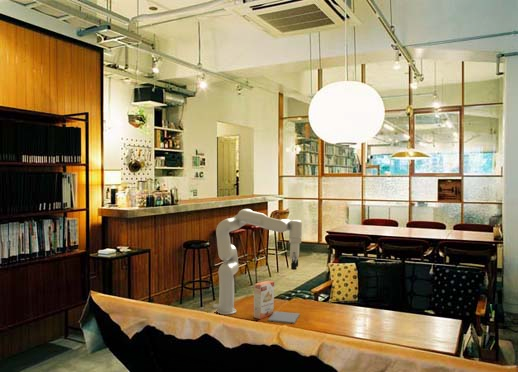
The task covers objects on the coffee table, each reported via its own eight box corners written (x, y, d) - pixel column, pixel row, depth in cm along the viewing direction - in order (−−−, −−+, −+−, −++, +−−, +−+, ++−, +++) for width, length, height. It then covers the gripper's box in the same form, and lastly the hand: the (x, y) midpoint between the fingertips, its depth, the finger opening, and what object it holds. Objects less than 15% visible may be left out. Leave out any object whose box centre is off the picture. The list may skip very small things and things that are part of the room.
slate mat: (267, 321, 262) (267, 319, 262) (274, 312, 279) (274, 311, 279) (294, 323, 258) (294, 322, 258) (299, 315, 275) (299, 313, 275)
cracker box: (260, 319, 264) (261, 285, 264) (253, 317, 268) (253, 283, 268) (274, 314, 276) (274, 281, 275) (266, 312, 279) (267, 280, 279)
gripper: (290, 238, 277) (290, 265, 277) (287, 241, 260) (286, 270, 260) (302, 238, 275) (302, 265, 275) (300, 242, 258) (299, 271, 258)
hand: (294, 268), depth 267 cm, fingers open, 9 cm apart
